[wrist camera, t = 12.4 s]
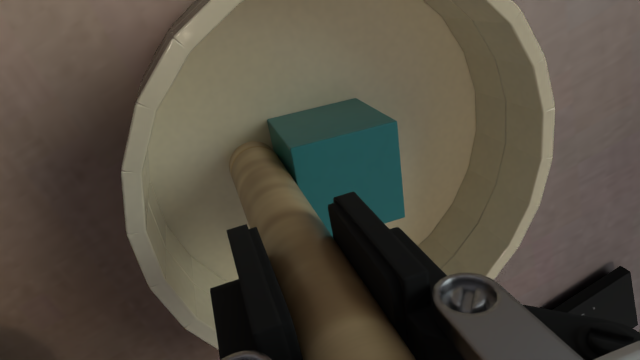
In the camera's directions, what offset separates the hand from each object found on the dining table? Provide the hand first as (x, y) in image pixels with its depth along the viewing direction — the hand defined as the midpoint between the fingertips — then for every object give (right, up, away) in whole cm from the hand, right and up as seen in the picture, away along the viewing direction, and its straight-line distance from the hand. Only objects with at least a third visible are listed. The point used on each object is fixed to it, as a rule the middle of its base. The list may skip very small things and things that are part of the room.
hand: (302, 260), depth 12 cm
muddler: (-2, +3, +7) cm, 8 cm away
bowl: (+1, +4, +9) cm, 10 cm away
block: (0, +3, +8) cm, 9 cm away
